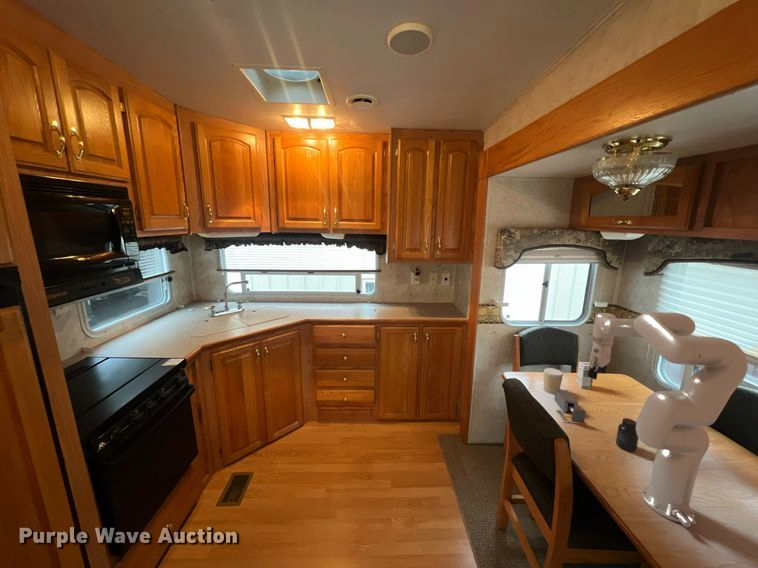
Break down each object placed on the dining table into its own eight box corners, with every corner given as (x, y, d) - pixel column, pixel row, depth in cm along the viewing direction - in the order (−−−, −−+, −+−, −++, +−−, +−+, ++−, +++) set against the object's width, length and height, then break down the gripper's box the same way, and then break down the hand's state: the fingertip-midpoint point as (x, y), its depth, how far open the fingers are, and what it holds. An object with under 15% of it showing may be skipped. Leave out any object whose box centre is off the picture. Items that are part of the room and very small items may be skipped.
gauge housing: (584, 424, 136) (586, 412, 135) (563, 422, 138) (564, 410, 137) (566, 401, 155) (567, 390, 154) (547, 399, 157) (549, 388, 156)
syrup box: (580, 388, 168) (584, 365, 165) (575, 383, 174) (578, 361, 171) (591, 389, 167) (595, 366, 164) (586, 384, 173) (589, 361, 170)
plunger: (583, 422, 136) (585, 411, 135) (564, 420, 138) (566, 409, 137) (573, 409, 147) (574, 398, 146) (555, 407, 148) (556, 396, 147)
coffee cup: (564, 395, 161) (566, 375, 159) (547, 395, 161) (550, 375, 159) (554, 386, 170) (556, 367, 168) (538, 386, 170) (540, 367, 168)
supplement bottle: (640, 453, 118) (645, 428, 116) (621, 451, 120) (626, 425, 118) (629, 442, 125) (634, 417, 123) (611, 439, 126) (616, 415, 124)
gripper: (604, 347, 121) (598, 384, 124) (619, 339, 130) (613, 373, 134) (584, 341, 127) (579, 376, 130) (600, 334, 137) (594, 367, 140)
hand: (596, 375), depth 132 cm, fingers open, 9 cm apart
